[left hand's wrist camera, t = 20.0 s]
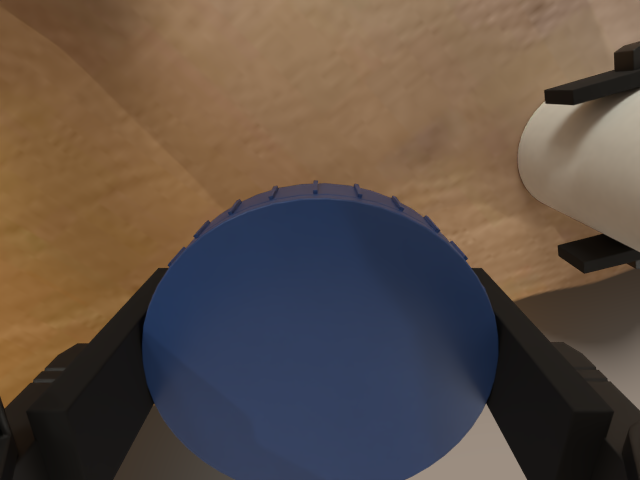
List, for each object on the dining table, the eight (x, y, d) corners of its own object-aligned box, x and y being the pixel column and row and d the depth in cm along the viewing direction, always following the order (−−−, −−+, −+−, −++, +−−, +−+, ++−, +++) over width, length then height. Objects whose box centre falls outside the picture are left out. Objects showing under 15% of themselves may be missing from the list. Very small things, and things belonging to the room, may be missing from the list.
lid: (102, 250, 11) (66, 275, 10) (430, 126, 10) (450, 132, 9) (242, 482, 14) (233, 530, 13) (507, 407, 13) (532, 450, 12)
